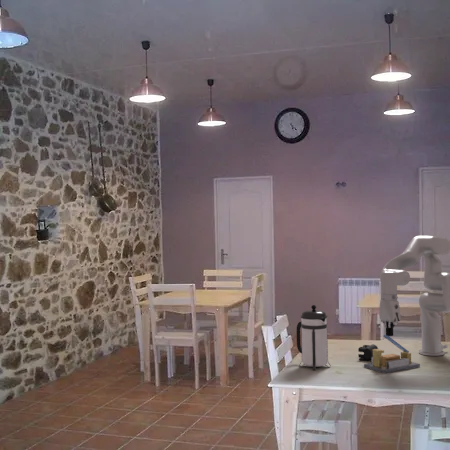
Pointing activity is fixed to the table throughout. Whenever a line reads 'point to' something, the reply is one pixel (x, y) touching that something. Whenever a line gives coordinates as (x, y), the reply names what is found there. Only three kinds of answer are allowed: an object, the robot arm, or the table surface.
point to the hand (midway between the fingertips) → (389, 335)
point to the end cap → (366, 352)
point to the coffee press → (313, 338)
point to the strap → (396, 344)
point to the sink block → (390, 362)
